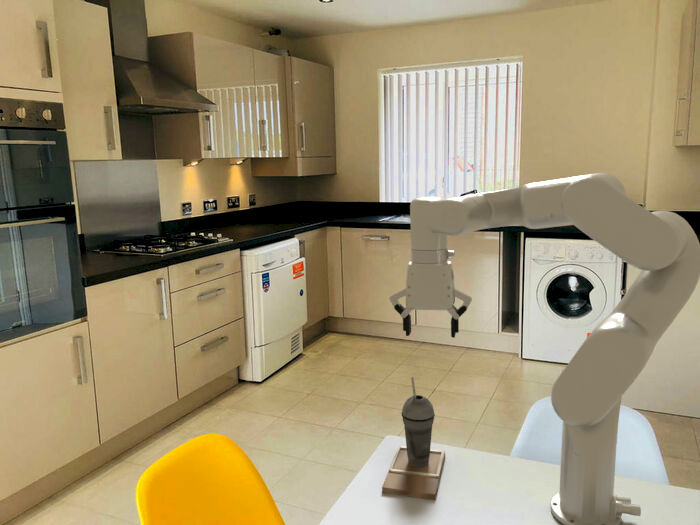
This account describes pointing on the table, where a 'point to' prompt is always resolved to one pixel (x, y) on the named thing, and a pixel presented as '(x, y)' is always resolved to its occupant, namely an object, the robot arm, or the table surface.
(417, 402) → the beverage cup
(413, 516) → the table surface
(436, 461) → the walnut board
